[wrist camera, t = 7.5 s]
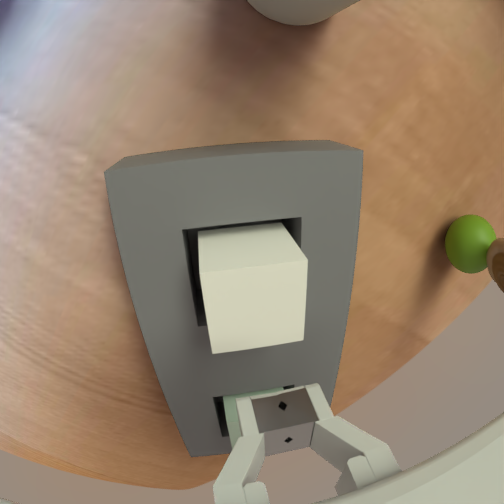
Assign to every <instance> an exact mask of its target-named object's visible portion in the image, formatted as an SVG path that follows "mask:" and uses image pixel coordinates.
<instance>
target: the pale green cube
mask: <svg viewBox="0 0 504 504" xmlns="http://www.w3.org/2000/svg"><path fill="white" fill-rule="evenodd" d="M282 390H284V389H283V387H278V388H273V389H267V390H261V391H254V392H248V393H241V394H234V395H226V396H223V401H224V408H225V415H226V421H227V427H228V431H229V436H230V441H231V445H232V449H233V447H234V445H235V443H236V442H237V440H238V438H239V437H241V432H240V427H239V421H238V415H237V408H236V401H235V399H236V398H242V397H248V396H249V397H250V396H255V395H262V394H268V393H274V392H277V391H282Z"/></svg>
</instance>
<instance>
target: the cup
mask: <svg viewBox="0 0 504 504" xmlns="http://www.w3.org/2000/svg"><path fill="white" fill-rule="evenodd" d="M247 1H248V2H249V3H250V4H251V5H252V6H253V7H254V8H255V9H256V10H257V11H258V12H260V13H261V14H263V15H264V16H266V17H267V18H269V19H272V20H274V21H277V22H280V23H282V24H289V25H295V26H300V25H311V24H314V23H318V22H321V21H323V20H326V19H327V18H329V17H331V16H332V15H334V14H336V13H338V12H340V11H341V10H343V9H345V8H347V7H349V6H350V5H352V4H354V3H356V2H358V1H360V0H247Z"/></svg>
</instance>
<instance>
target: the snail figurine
mask: <svg viewBox="0 0 504 504" xmlns="http://www.w3.org/2000/svg"><path fill="white" fill-rule="evenodd" d="M445 249H446V254H447V256H448V259H449V260H450V262H451V263H452V265H453V266H454V267H456V268H457V269H458V270H460V271H462V272H465V273H478V272H480V271H482V270H484V269H485V268H487V267H488V271H489V274H490V275H491V277H492V279H493V280H494V281H495V282H496V283H497V285H498V286H499V288H500V289H501V290H502V291H503V292H504V238H498V239H496V235H495V232H494V230H493V228H492V226H491V225H490V224H489V223H488V222H487V221H486V220H485V219H484V218H482V217H480V216H477V215H465V216H462V217H460V218H458V219H456V220H455V221H454V222H453V223H452V224H451V226H450V227H449V229H448V231H447V234H446V238H445Z"/></svg>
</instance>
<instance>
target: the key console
mask: <svg viewBox="0 0 504 504" xmlns="http://www.w3.org/2000/svg"><path fill="white" fill-rule="evenodd" d="M362 172H363V150H360V149H357V148H354V147H350V146H347V145H344V144H340V143H337V142H334V141H330V140H303V141H274V142H255V143H240V144H227V145H216V146H205V147H196V148H187V149H178V150H170V151H163V152H156V153H149V154H142V155H136V156H129V157H124V158H123V159H121V160H120V161H119V162H117V163H116V164H114V165H113V166H112V167H110V168H109V169H107V170H106V171H105V172H104V175H105V181H106V187H107V193H108V199H109V204H110V209H111V214H112V219H113V224H114V229H115V234H116V238H117V243H118V247H119V251H120V255H121V260H122V264H123V268H124V272H125V275H126V279H127V283H128V287H129V290H130V294H131V298H132V301H133V305H134V308H135V311H136V315H137V318H138V321H139V325H140V328H141V331H142V334H143V337H144V340H145V343H146V346H147V349H148V352H149V355H150V358H151V361H152V364H153V366H154V369H155V372H156V375H157V377H158V380H159V383H160V385H161V388H162V391H163V393H164V396H165V398H166V401H167V403H168V406H169V408H170V411H171V413H172V416H173V418H174V420H175V423H176V425H177V427H178V430H179V432H180V434H181V437H182V439H183V441H184V443H185V445H186V448H187V450H188V452H189V454H190V456H191V457H198V456H209V455H219V454H228V453H231V451H232V445H231V441H230V436H229V431H228V427H227V421H226V415H225V408H224V401H223V396H226V395H234V394H241V393H248V392H254V391H261V390H267V389H273V388H278V387H283V389H284V390H287V389H291V388H296V387H300V386H306V385H310V384H314V383H318V384H319V385H320V387H321V389H322V392H323V394H324V396H325V398H326V400H327V402H328V404H329V407H330V406H331V401H332V397H333V392H334V388H335V383H336V378H337V374H338V369H339V364H340V358H341V353H342V348H343V342H344V337H345V331H346V325H347V319H348V312H349V306H350V299H351V292H352V284H353V276H354V268H355V260H356V251H357V241H358V230H359V219H360V206H361V191H362ZM271 223H282V224H283V226H284V227H285V228H286V230H287V231H288V233H289V234H290V235H291V237H292V238H293V240H294V241H295V242H296V244H297V245H298V247H299V248H300V249H301V251H302V252H303V254H304V255H305V256H306V258H307V259H308V269H307V290H306V308H305V324H304V339H303V340H302V341H296V342H290V343H285V344H279V345H273V346H266V347H260V348H253V349H246V350H239V351H232V352H224V353H216V354H212V348H211V343H210V337H209V331H208V325H207V319H206V313H205V306H204V300H203V294H202V287H201V280H200V273H199V249H198V231H205V230H214V229H223V228H232V227H242V226H251V225H261V224H271Z"/></svg>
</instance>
